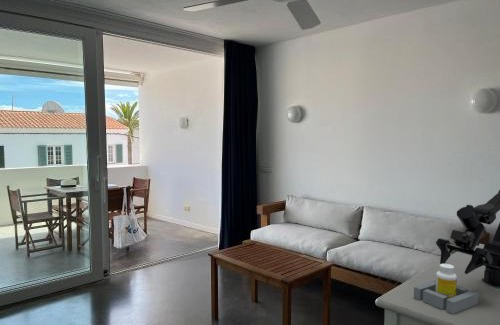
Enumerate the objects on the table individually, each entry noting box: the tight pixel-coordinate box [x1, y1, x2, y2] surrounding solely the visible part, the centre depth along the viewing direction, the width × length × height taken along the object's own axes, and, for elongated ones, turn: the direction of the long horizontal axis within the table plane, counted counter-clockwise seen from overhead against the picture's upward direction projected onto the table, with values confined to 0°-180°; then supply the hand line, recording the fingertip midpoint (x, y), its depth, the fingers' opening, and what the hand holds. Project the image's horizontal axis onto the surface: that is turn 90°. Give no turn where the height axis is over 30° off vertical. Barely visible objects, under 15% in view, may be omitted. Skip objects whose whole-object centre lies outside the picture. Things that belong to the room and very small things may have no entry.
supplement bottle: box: [435, 263, 458, 299], centre depth 139 cm, size 7×7×13 cm
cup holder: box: [413, 279, 480, 315], centre depth 139 cm, size 15×15×4 cm
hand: (452, 269), depth 140 cm, fingers open, 9 cm apart
